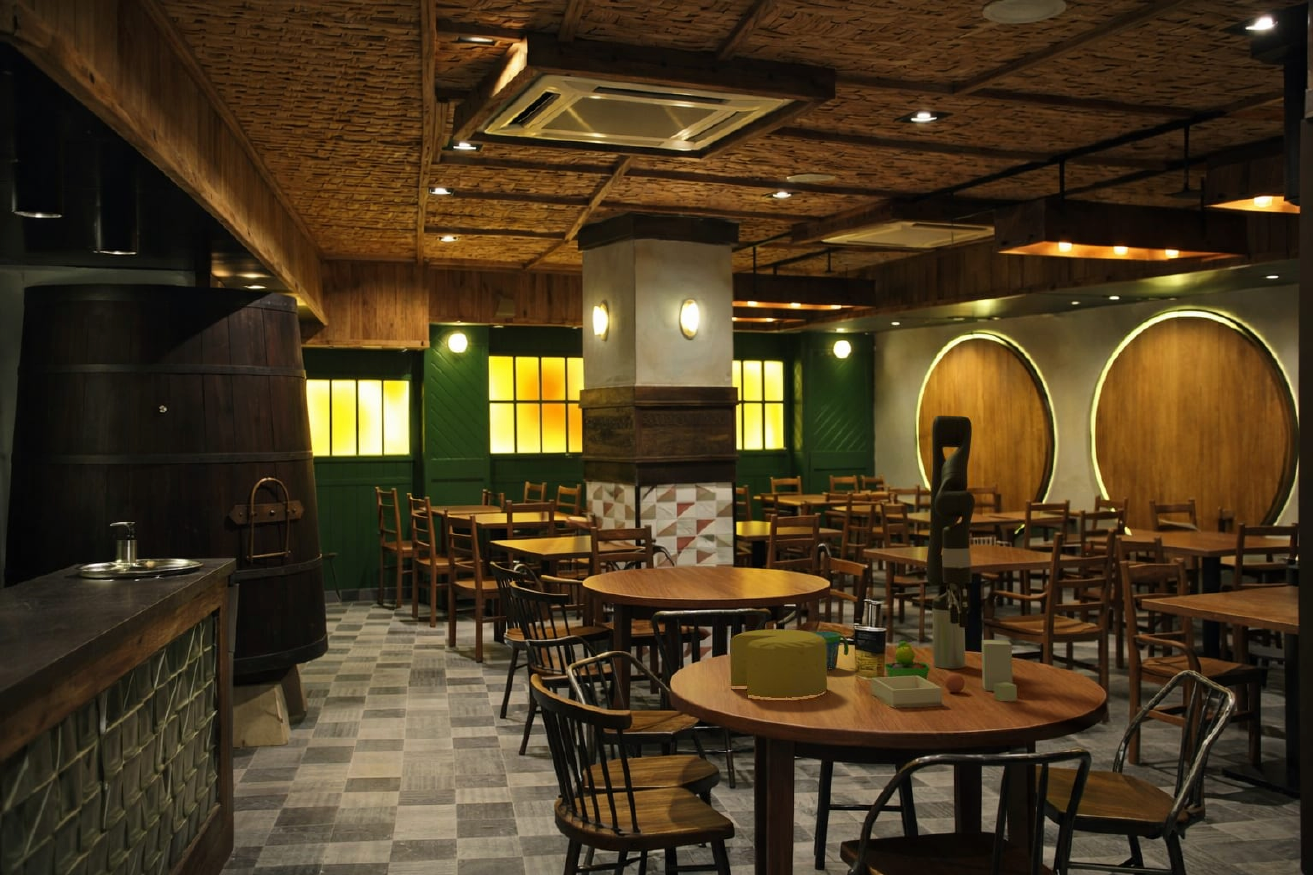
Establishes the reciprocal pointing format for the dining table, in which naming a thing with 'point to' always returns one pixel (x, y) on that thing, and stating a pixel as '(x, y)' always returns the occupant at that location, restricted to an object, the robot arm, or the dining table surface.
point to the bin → (906, 691)
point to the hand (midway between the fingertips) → (958, 625)
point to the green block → (1005, 692)
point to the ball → (954, 682)
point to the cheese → (779, 663)
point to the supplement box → (996, 663)
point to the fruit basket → (906, 663)
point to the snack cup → (833, 646)
